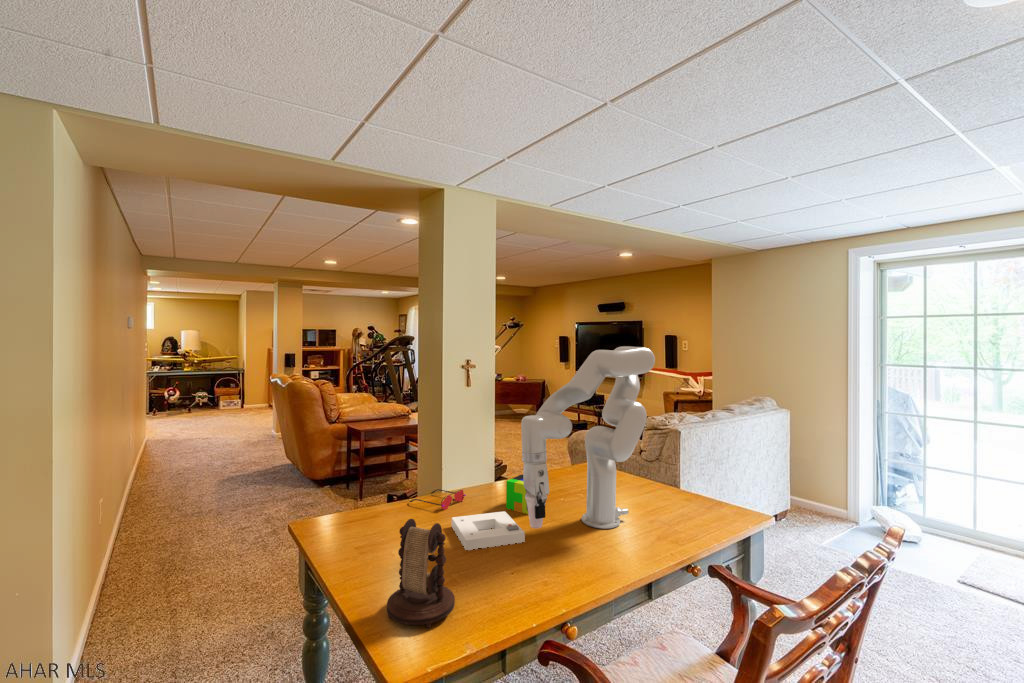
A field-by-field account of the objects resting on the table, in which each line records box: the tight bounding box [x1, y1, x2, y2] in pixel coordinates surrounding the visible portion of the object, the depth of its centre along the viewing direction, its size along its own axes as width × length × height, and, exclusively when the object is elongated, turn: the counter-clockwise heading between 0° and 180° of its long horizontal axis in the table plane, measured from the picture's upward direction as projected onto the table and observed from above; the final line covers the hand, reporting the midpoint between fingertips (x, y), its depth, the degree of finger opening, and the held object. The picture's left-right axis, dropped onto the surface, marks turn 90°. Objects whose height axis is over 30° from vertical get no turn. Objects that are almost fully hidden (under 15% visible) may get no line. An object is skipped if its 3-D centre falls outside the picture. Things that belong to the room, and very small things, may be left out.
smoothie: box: [525, 492, 544, 529], centre depth 148 cm, size 6×6×14 cm
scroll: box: [386, 518, 456, 629], centre depth 106 cm, size 15×15×20 cm
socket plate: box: [451, 510, 526, 551], centre depth 148 cm, size 18×18×4 cm
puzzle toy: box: [505, 474, 529, 515], centre depth 172 cm, size 10×10×10 cm
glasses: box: [409, 489, 467, 511], centre depth 176 cm, size 14×16×5 cm
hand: (535, 513), depth 148 cm, fingers closed on smoothie, 6 cm apart
